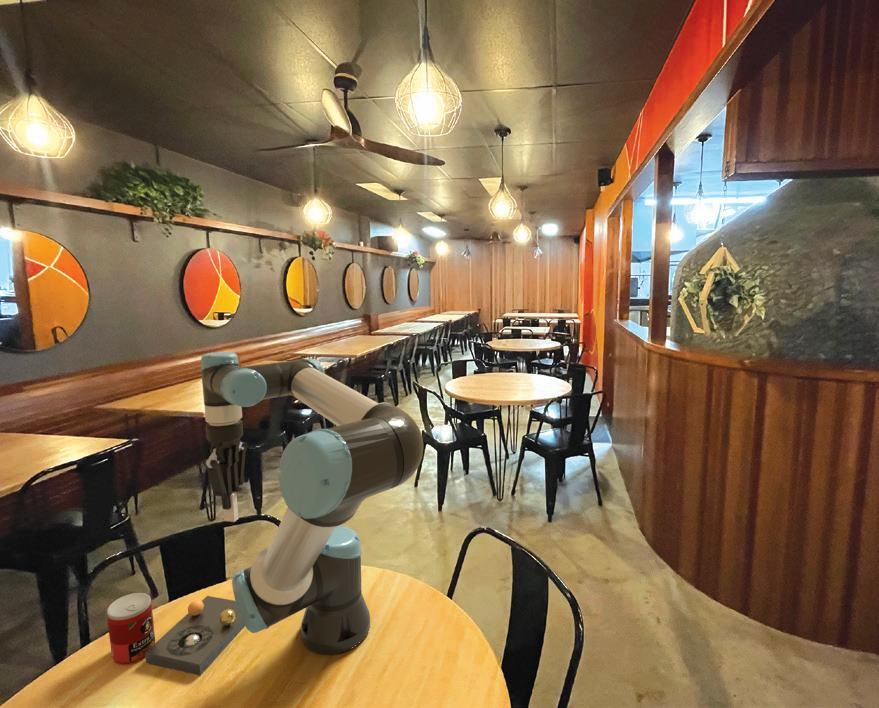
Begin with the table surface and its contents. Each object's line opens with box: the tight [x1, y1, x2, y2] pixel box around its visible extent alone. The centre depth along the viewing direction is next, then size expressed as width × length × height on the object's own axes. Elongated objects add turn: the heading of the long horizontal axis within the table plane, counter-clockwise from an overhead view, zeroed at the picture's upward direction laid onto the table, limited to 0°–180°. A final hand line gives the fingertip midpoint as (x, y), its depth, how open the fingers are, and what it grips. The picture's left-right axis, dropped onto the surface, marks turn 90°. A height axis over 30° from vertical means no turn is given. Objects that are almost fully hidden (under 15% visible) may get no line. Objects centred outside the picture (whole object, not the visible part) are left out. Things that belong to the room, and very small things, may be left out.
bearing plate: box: [144, 595, 246, 676], centre depth 103 cm, size 13×18×2 cm
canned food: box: [106, 592, 156, 666], centre depth 99 cm, size 8×8×11 cm
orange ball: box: [187, 599, 204, 616], centre depth 107 cm, size 3×3×3 cm
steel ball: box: [184, 634, 201, 649], centre depth 100 cm, size 3×3×3 cm
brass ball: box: [219, 609, 235, 626], centre depth 104 cm, size 3×3×3 cm
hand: (231, 519), depth 109 cm, fingers closed
